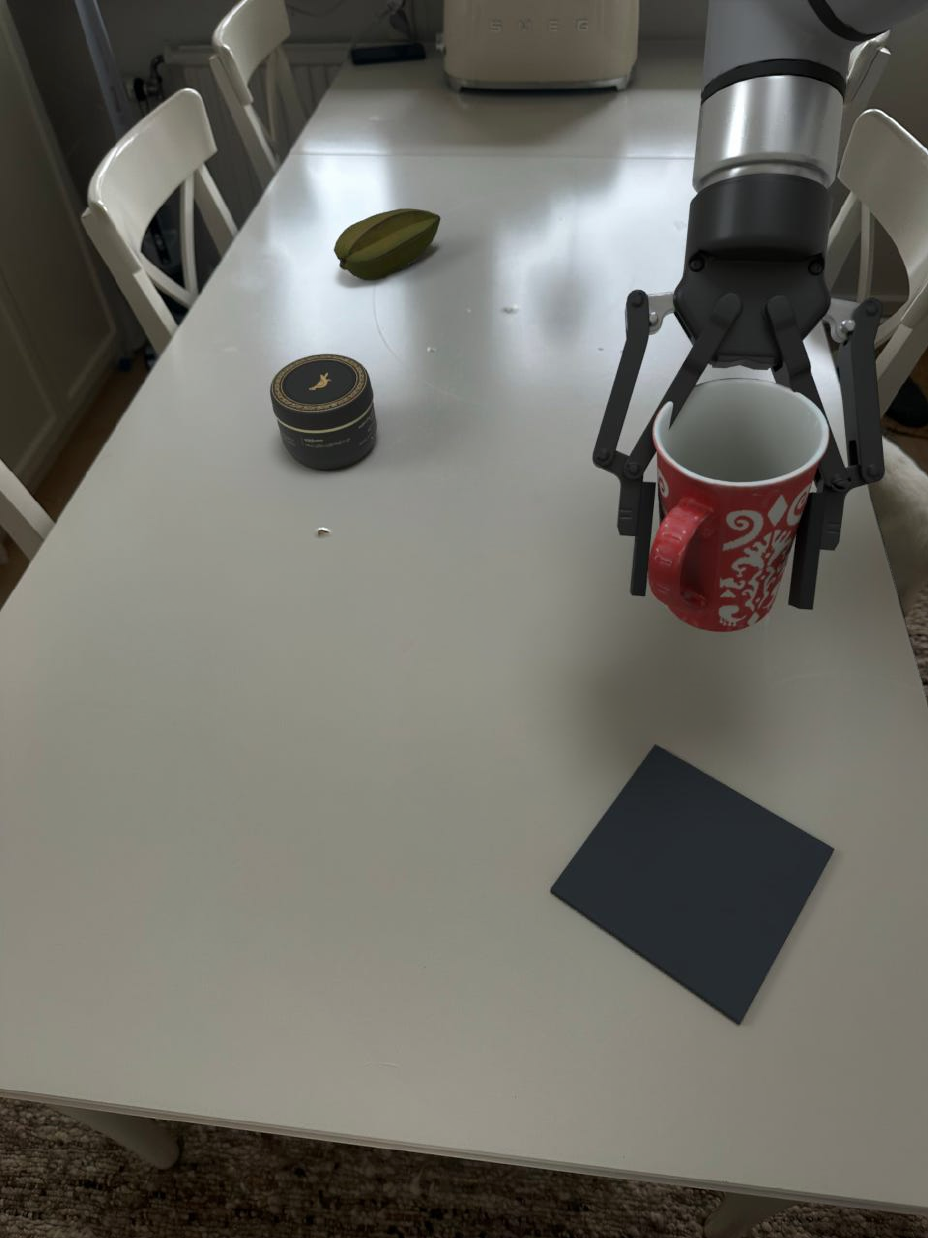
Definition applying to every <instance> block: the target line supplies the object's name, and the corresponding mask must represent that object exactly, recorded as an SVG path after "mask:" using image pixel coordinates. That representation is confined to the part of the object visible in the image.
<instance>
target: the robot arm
mask: <svg viewBox="0 0 928 1238" xmlns="http://www.w3.org/2000/svg"><path fill="white" fill-rule="evenodd" d="M707 7H708V8H707V18H706V29H705V41H704V42H705V43H704V51H703V63H702V65H703V66H702V75H701V76H702V77H701V88H700V89H701V90H700V102H699V103H700V105H699V110H698V111H699V113H698V121H697V130H696V132H697V133H696V140H695V141H696V142H695V152H694V161H693V169H692V179H691V180H692V181H691V183H692V184H691V186H692V188H693V189H694V191H695V192H696V194H695V196H694V197H693V198H692V199H691V201H690V203H689V211H688V221H687V229H686V230H687V231H686V239H685V240H686V241H685V251H684V261H683V271H682V276H681V278H680V281H679V283H678V284H676V287H675V288H674V290H673V291H666V292H658V293H649V294H648V293H646V292H645V291H644V290H642V289H634V290H631V291H630V292H629V293H628V295H627V296H626V302H625V307H624V322H625V323H624V325H625V342H624V346H623V349H622V352H621V356H620V358H619V363H618V365H617V369H616V372H615V376H614V379H613V383H612V386H611V390H610V393H609V397H608V400H607V404H606V407H605V410H604V413H603V417H602V420H601V424H600V427H599V430H598V434H597V438H596V440H595V445H594V447H593V451H592V456H591V457H592V458H591V460H592V464H593V466H595V467H596V468H598V469H600V470H603V471H605V472H608V473H610V474H612V475H613V476H615V477H616V478H617V479H618V481H619V486H620V487H619V498H618V510H617V519H616V528H617V532H618V535H619V536H623V537H624V536H625V537H634V544H633V554H632V566H631V576H630V585H629V586H630V587H629V593H630V595H631V596H633V597H634V596H635V597H646V593H647V583H648V563H649V555H650V551H651V543H652V542H651V541H652V532H653V531H652V530H653V521H654V511H655V500H656V489H657V481H644V476H645V472H646V470H647V469H648V467H649V465H650V464H651V462H652V460H653V458H654V457H655V455H656V454H657V450H656V448H655V445H654V442H653V436H652V430H653V424H654V421H655V418H656V416H657V414H658V412H659V411H660V410H661V408H662V407H663V406H664V405H665V404H666V403H667V402H672V403H673V409H672V414H671V419H670V425H669V429H670V428H671V426H672V424H673V423H674V421H675V419H676V417H677V416H678V414H679V412H680V411H681V409H682V407H683V406H684V404H685V402H686V400H687V399H688V397H689V395H690V394H691V392H692V390H693V388H694V387H695V385H697V384H698V382H699V380H700V379H701V377H702V375H703V373H704V372H705V370H706V369H707V367H708V365H709V366H711V368H712V369H730V368H733V367H738V366H739V367H740V366H741V367H745V368H747V369H751V370H754V371H768V370H770V371H771V374H772V376H773V379H774V383H777V384H781V385H784V386H787V387H789V388H791V389H792V391H793V392H798V393H801V394H802V395H804V396H805V397H807V398H808V399H809V400H811V401H812V402H813V403H814V404H815V405H816V406H817V407H818V408H819V409H820V410H821V412H822V414H823V415H824V416H825V418H826V420H827V424H828V427H829V443H828V447H827V450H826V452H825V454H824V456H823V457H822V459H821V460H820V461H819V464H818V467H817V470H816V473H815V476H814V479H813V484H814V486H815V489H816V492H814V491H810V492H809V495H808V498H807V501H806V504H805V508H804V510H803V513H802V516H801V519H800V523H799V526H798V529H797V532H796V536H795V539H794V547H793V548H794V549H793V556H792V557H793V558H792V566H791V574H790V581H789V582H790V583H789V590H788V591H789V592H788V598H787V599H788V600H787V605H788V606H791V607H793V608H795V609H798V610H807V611H814V603H815V595H816V587H817V578H818V569H819V561H820V554H821V553H820V552H821V551H833V552H835V551H836V549H837V547H838V545H839V544H840V540H841V532H842V523H843V517H844V516H843V514H844V507H845V499H846V497H847V495H848V493H849V492H850V491H852V490H853V489H855V488H859V487H863V486H866V485H871V484H875V483H877V482H880V481H881V480H882V479H883V478H884V476H885V472H886V465H885V454H884V443H883V432H882V431H883V430H882V419H881V407H880V397H879V386H878V385H879V384H878V372H877V362H876V361H877V360H876V348H875V341H876V337H877V334H878V330H879V328H880V323H881V319H882V315H883V312H884V306H883V303H882V301H881V300H880V299H878V298H875V297H869V298H866V299H864V300H863V301H860V302H859V301H854V300H849V299H843V298H836V297H832V295H831V291H830V289H829V287H828V285H827V281H826V276H825V274H826V273H825V272H826V263H827V255H828V246H829V237H830V229H831V219H832V210H833V204H834V203H833V202H834V199H833V196H832V193H831V192H830V191H829V190H828V189H829V188H830V187H831V186H832V184H833V183H834V182H835V180H836V175H837V166H838V157H839V148H840V139H841V130H842V129H841V128H842V119H843V110H844V105H845V97H846V89H847V80H848V71H849V64H850V59H851V53H852V51H854V50H855V49H856V47H858V46H860V45H862V44H864V43H866V42H868V41H871V40H874V39H875V38H878V37H879V36H881V35H883V34H886V33H888V31H889V30H891V29H892V28H894V27H896V26H898V25H900V24H902V23H904V22H905V21H908V20H909V19H911V18H913V17H916V16H917V15H919V14H921V13H923V12H925V11H927V10H928V0H708V6H707ZM671 314H673V315H674V317H675V319H676V320H677V321H678V323H679V325H680V327H681V329H682V330H683V332H684V334H685V336H686V337H687V339H688V341H689V342H690V343H691V349H690V350H689V353H688V354H687V355H686V357H685V359H684V361H683V363H682V364H681V366H680V368H679V369H678V371H677V373H676V374H675V377H673V380H672V382H671V383H670V385H669V387H668V388H667V390H666V392H665V393H664V395H663V397H662V399H661V400H660V402H659V404H658V406H657V407H656V409H655V410H654V412H653V414H652V415H651V418H650V419H649V421H648V423H647V425H646V426H645V428H644V429H643V431H642V433H641V435H640V436H639V438H638V440H637V442H636V443H635V445H634V447H633V448H632V450H631V451H630V454H629V455H628V454H626V453H623V452H621V451H619V450H617V447H618V444H619V441H620V437H621V434H622V430H623V428H624V424H625V421H626V417H627V414H628V410H629V407H630V404H631V400H632V397H633V394H634V390H635V387H636V385H637V381H638V377H639V375H640V374H639V373H640V370H641V367H642V364H643V360H644V356H645V354H646V351H647V346H648V343H649V339H650V338H649V337H650V336H654V335H656V334H657V333H658V332H659V331H660V330H661V328H662V325H663V322H664V319H665V318H666V317H668V315H671ZM822 320H823V321H826V322H827V323H828V324H829V327H830V335H831V338H832V340H833V341H835V342H836V343H839V346H838V367H839V368H838V371H839V382H840V383H839V384H840V392H841V394H840V395H841V405H842V415H843V416H842V417H843V426H844V439H845V447H846V448H845V449H846V459H847V461H846V462H847V466H845V463H844V460H843V457H842V455H841V452H840V449H839V446H838V444H837V440H836V437H835V435H834V433H833V430H832V427H831V424H830V422H829V419H828V416H827V412H826V409H825V407H824V405H823V401H822V399H821V396H820V393H819V390H818V388H817V385H816V382H815V379H814V376H813V373H812V363H811V360H810V357H809V354H808V352H807V349H806V346H805V343H804V340H805V339H806V338H807V337H808V336H809V335H810V334H811V332H812V331H813V330H815V328H816V327H817V326H818V324H819V323H820V322H821V321H822Z"/></svg>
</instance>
